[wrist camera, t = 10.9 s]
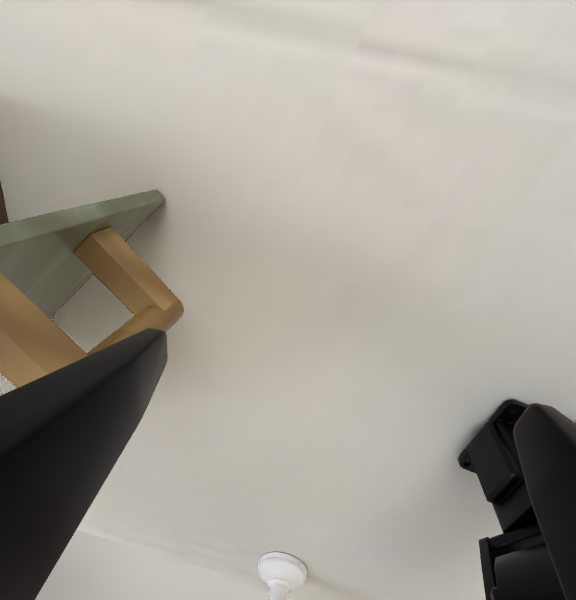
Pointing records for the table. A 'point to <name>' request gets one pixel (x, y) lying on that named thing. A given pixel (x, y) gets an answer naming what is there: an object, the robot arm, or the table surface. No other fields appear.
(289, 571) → the chess piece
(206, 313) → the table surface
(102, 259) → the door
